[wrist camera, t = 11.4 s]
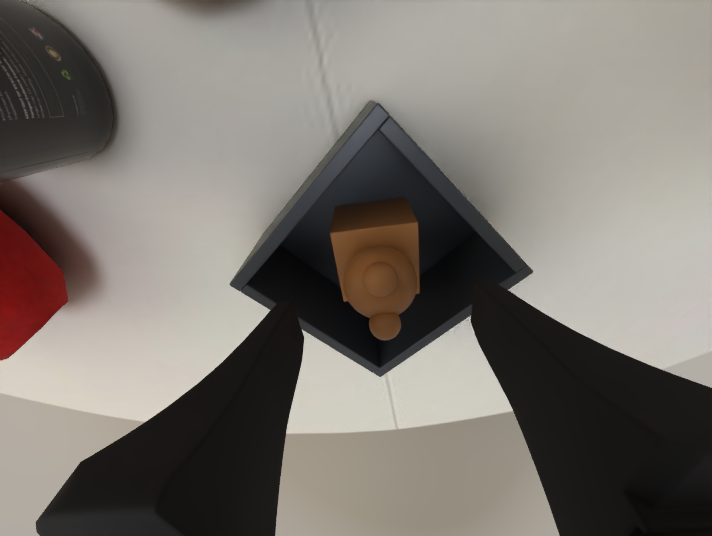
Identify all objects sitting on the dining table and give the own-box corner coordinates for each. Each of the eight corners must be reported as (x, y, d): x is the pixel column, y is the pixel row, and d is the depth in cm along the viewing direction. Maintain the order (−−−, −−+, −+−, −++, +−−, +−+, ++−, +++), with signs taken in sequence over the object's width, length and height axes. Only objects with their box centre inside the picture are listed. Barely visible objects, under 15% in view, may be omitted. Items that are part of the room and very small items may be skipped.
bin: (486, 224, 18) (534, 272, 13) (374, 315, 22) (380, 377, 17) (370, 99, 14) (378, 101, 10) (262, 235, 18) (228, 285, 14)
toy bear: (406, 196, 16) (438, 262, 10) (408, 259, 19) (436, 345, 12) (334, 206, 17) (321, 275, 10) (345, 266, 19) (340, 354, 12)
